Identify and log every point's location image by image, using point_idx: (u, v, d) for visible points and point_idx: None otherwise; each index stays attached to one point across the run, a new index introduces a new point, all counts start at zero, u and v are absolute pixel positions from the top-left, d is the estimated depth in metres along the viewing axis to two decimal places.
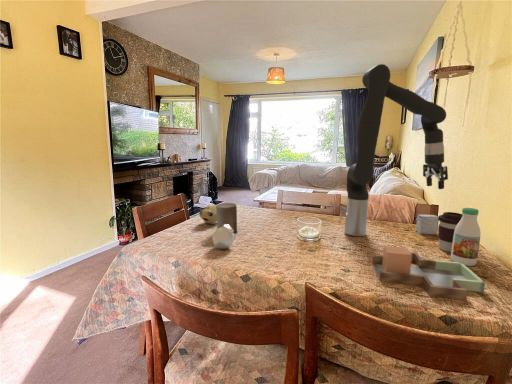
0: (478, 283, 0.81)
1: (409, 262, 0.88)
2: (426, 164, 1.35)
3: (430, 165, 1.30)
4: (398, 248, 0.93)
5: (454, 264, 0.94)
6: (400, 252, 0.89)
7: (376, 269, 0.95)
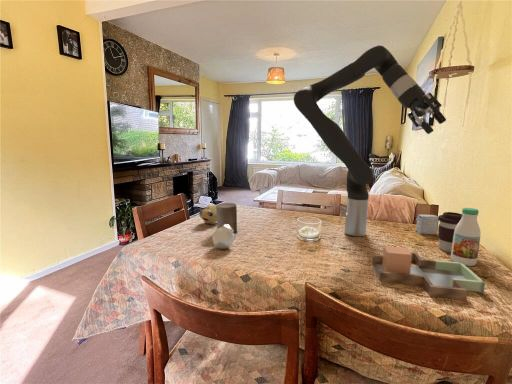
0: (478, 283, 0.81)
1: (409, 262, 0.88)
2: (410, 112, 1.03)
3: (413, 107, 0.98)
4: (398, 248, 0.93)
5: (454, 264, 0.94)
6: (400, 252, 0.89)
7: (376, 269, 0.95)
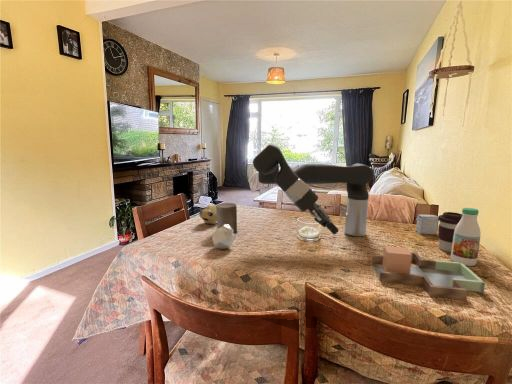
0: (478, 283, 0.81)
1: (409, 262, 0.88)
2: None
3: None
4: (398, 248, 0.93)
5: (454, 264, 0.94)
6: (400, 252, 0.89)
7: (376, 269, 0.95)
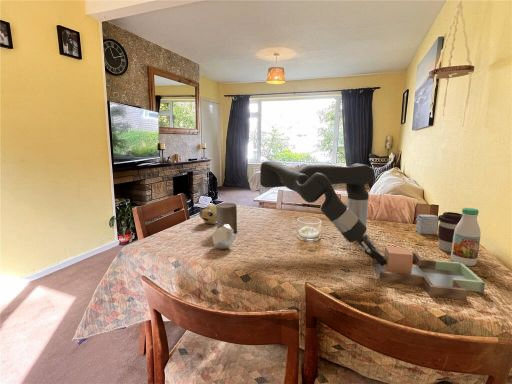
0: (478, 283, 0.81)
1: (410, 262, 0.88)
2: None
3: None
4: (399, 248, 0.93)
5: (454, 264, 0.94)
6: (401, 252, 0.89)
7: (376, 269, 0.95)
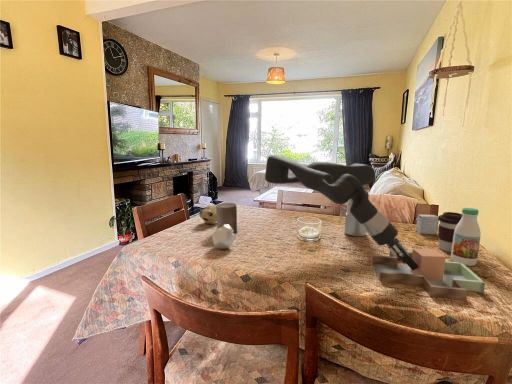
0: (478, 283, 0.81)
1: (443, 264, 0.87)
2: None
3: None
4: (428, 250, 0.91)
5: (454, 264, 0.94)
6: (433, 255, 0.87)
7: (376, 269, 0.95)
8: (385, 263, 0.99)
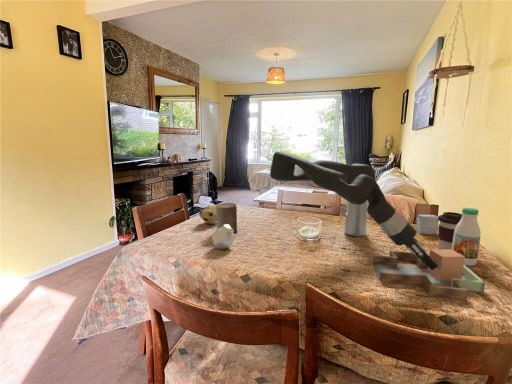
0: (478, 283, 0.81)
1: (462, 264, 0.87)
2: None
3: None
4: (445, 250, 0.91)
5: None
6: (452, 255, 0.87)
7: (376, 269, 0.95)
8: (385, 263, 0.99)
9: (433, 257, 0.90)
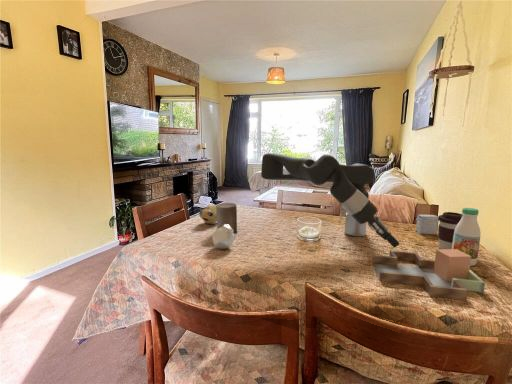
0: (478, 283, 0.81)
1: (468, 264, 0.87)
2: None
3: None
4: (451, 250, 0.91)
5: None
6: (459, 255, 0.87)
7: (376, 269, 0.95)
8: (385, 263, 0.99)
9: (439, 257, 0.90)
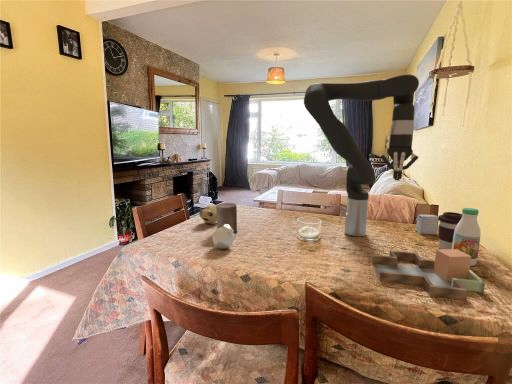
0: (478, 283, 0.81)
1: (468, 264, 0.87)
2: (382, 155, 1.07)
3: (396, 149, 1.04)
4: (451, 250, 0.91)
5: None
6: (459, 255, 0.87)
7: (376, 269, 0.95)
8: (385, 263, 0.99)
9: (439, 257, 0.90)
